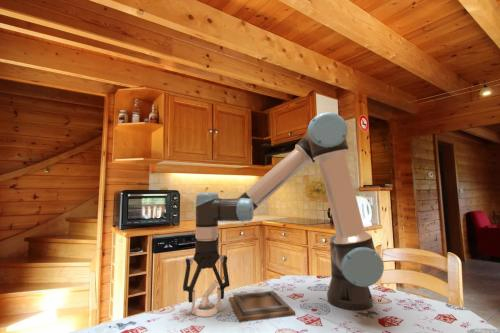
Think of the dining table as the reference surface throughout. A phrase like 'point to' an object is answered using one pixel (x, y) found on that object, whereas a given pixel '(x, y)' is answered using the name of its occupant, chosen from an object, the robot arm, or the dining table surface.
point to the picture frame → (259, 306)
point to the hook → (207, 303)
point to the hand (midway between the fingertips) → (206, 310)
